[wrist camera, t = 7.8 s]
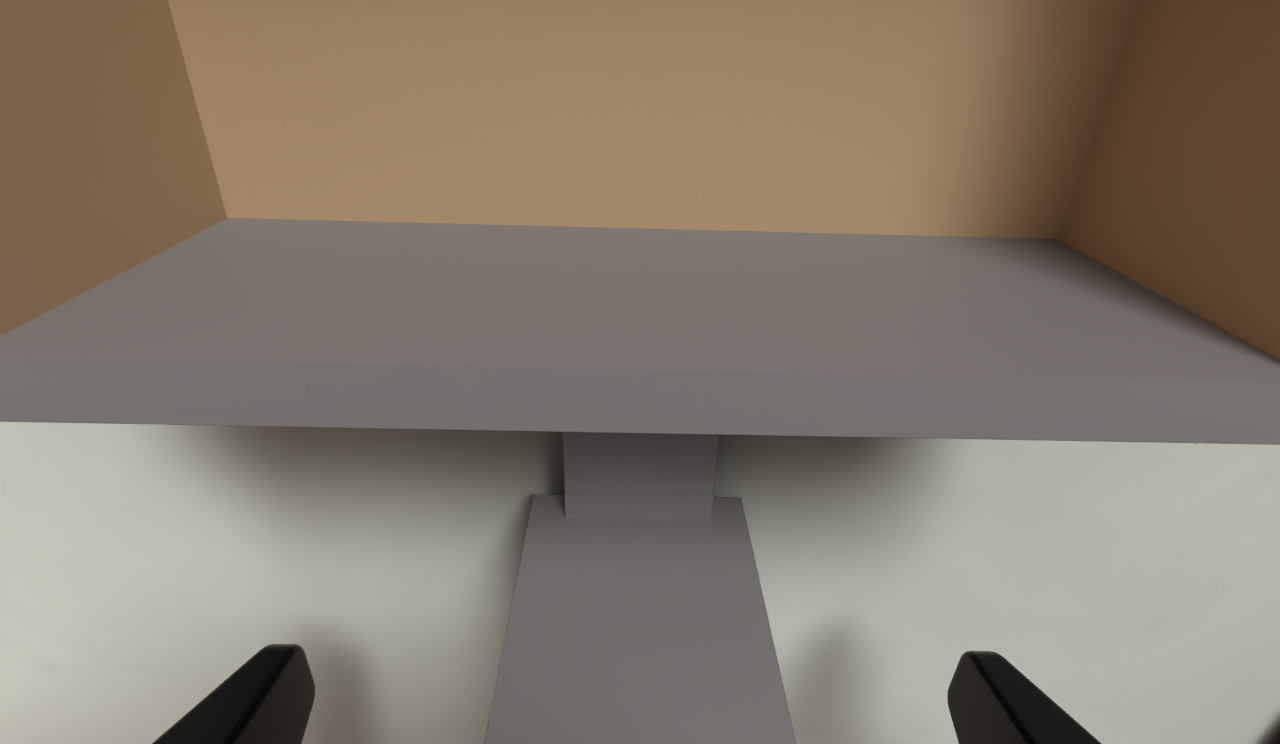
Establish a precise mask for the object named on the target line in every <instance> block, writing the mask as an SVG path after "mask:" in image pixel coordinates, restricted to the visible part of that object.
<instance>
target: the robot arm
mask: <svg viewBox="0 0 1280 744" xmlns="http://www.w3.org/2000/svg"><path fill="white" fill-rule="evenodd" d="M314 697H315V684H314V680H313V677H312V674H311V671H310V668H309V664H308V661H307V658H306V655H305V652H304V650H303V648H302V647H301V646H299V645H297V644H272V645H268V646H266V647H264V648H263V649H261V650H260V651H259V652H258V653H256V654H255V655H254V656H253V657H252V658H251V659H249V660H248V661H247V662H246V663H245V664H244V665H243V666H241V667H240V668H239V669H238V670H237V671H236V672H234V673H233V674H232V675H231V676H230V677H229V678H228V679H226V680H225V681H224V682H223V683H222V684H221V685H219V686H218V687H217V688H216V689H215V690H214V691H212V692H211V693H210V694H209V695H208V696H207V697H206V698H204V699H203V700H202V701H201V702H200V703H199V704H197V705H196V706H195V707H194V708H193V709H192V710H190V711H189V712H188V713H187V714H186V715H185V716H184V717H182V718H181V719H180V720H179V721H178V722H177V723H175V724H174V725H173V726H172V727H171V728H170V729H169V730H167V731H166V732H165V733H164V734H163V735H162V736H160V737H159V738H158V739H157V740H156V741H155V742H153V743H152V744H301V743H302V739H303V736H304V733H305V729H306V726H307V723H308V719H309V716H310V713H311V709H312V706H313V702H314ZM948 706H949V710H950V714H951V717H952V721H953V724H954V728H955V731H956V735H957V738H958V742H959V744H1101V743H1100V742H1099V741H1098V740H1097V739H1096V738H1094V737H1093V736H1092V735H1091V734H1090V733H1089V732H1088V731H1087V730H1085V729H1084V728H1083V727H1082V726H1081V725H1080V724H1079V723H1077V722H1076V721H1075V720H1074V719H1073V718H1072V717H1071V716H1070V715H1068V714H1067V713H1066V712H1065V711H1064V710H1063V709H1062V708H1060V707H1059V706H1058V705H1057V704H1056V703H1055V702H1054V701H1053V700H1051V699H1050V698H1049V697H1048V696H1047V695H1046V694H1045V693H1043V692H1042V691H1041V690H1040V689H1039V688H1038V687H1037V686H1035V685H1034V684H1033V683H1032V682H1031V681H1030V680H1029V679H1028V678H1026V677H1025V676H1024V675H1023V674H1022V673H1021V672H1020V671H1018V670H1017V669H1016V668H1015V667H1014V666H1013V665H1012V664H1011V663H1009V662H1008V661H1007V660H1006V659H1005V658H1004V657H1002V656H1001V655H999V654H998V653H995V652H991V651H967V652H965V653H964V654H963V655H962V656H961V658H960V661H959V663H958V666H957V668H956V671H955V673H954V676H953V678H952V681H951V683H950V686H949V689H948Z"/></svg>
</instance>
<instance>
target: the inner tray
mask: <svg viewBox="0 0 1280 744" xmlns="http://www.w3.org/2000/svg"><path fill="white" fill-rule="evenodd" d="M0 421H1V422H56V423H112V424H167V425H223V426H278V427H334V428H389V429H444V430H500V431H555V432H563V452H564V484H565V495H535V494H534V496H533V501H532V506H531V511H530V516H529V521H528V526H527V531H526V536H525V541H524V546H523V551H522V556H521V561H520V566H519V571H518V576H517V581H516V586H515V591H514V596H513V601H512V606H511V611H510V617H509V622H508V627H507V632H506V637H505V642H504V647H503V652H502V657H501V662H500V667H499V672H498V677H497V682H496V687H495V692H494V697H493V702H492V707H491V712H490V717H489V722H488V727H487V732H486V737H485V742H484V744H796V741H795V736H794V732H793V727H792V723H791V719H790V714H789V710H788V705H787V701H786V696H785V692H784V687H783V683H782V678H781V674H780V669H779V665H778V661H777V656H776V652H775V647H774V643H773V638H772V634H771V629H770V625H769V620H768V616H767V611H766V607H765V603H764V598H763V594H762V589H761V585H760V580H759V576H758V571H757V567H756V562H755V558H754V553H753V549H752V545H751V540H750V536H749V531H748V527H747V522H746V518H745V513H744V509H743V504H742V500H741V498H726V497H713V490H714V481H715V471H716V462H717V452H718V443H719V434H721V435H777V436H832V437H888V438H943V439H999V440H1054V441H1109V442H1165V443H1220V444H1276V445H1280V0H0Z"/></svg>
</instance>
